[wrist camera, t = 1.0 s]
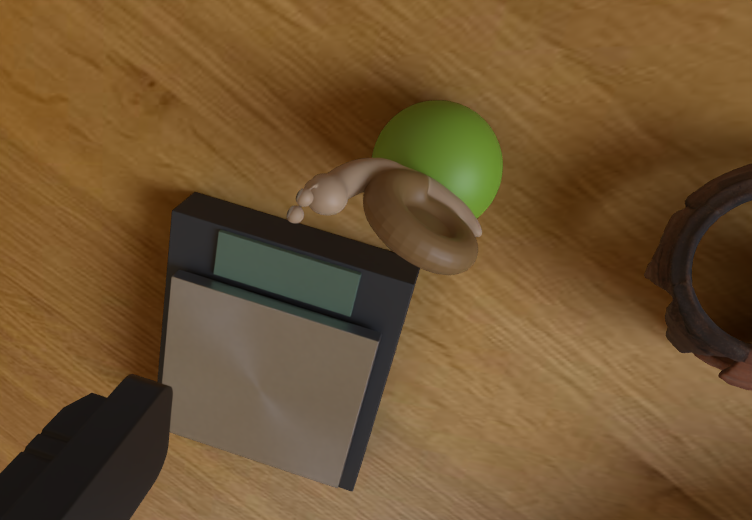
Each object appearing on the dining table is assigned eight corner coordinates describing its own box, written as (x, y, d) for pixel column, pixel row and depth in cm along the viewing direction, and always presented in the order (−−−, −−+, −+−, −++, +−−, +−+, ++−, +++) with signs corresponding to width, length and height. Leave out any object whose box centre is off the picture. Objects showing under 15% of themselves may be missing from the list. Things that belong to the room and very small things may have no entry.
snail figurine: (403, 50, 29) (329, 128, 19) (530, 129, 30) (525, 248, 19) (346, 153, 32) (253, 271, 21) (462, 224, 32) (426, 374, 22)
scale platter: (178, 268, 33) (171, 276, 33) (382, 332, 33) (379, 342, 32) (164, 418, 38) (157, 428, 37) (341, 477, 37) (337, 488, 37)
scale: (194, 191, 35) (169, 212, 32) (422, 260, 34) (413, 287, 31) (173, 398, 41) (151, 428, 39) (362, 460, 40) (351, 495, 38)
